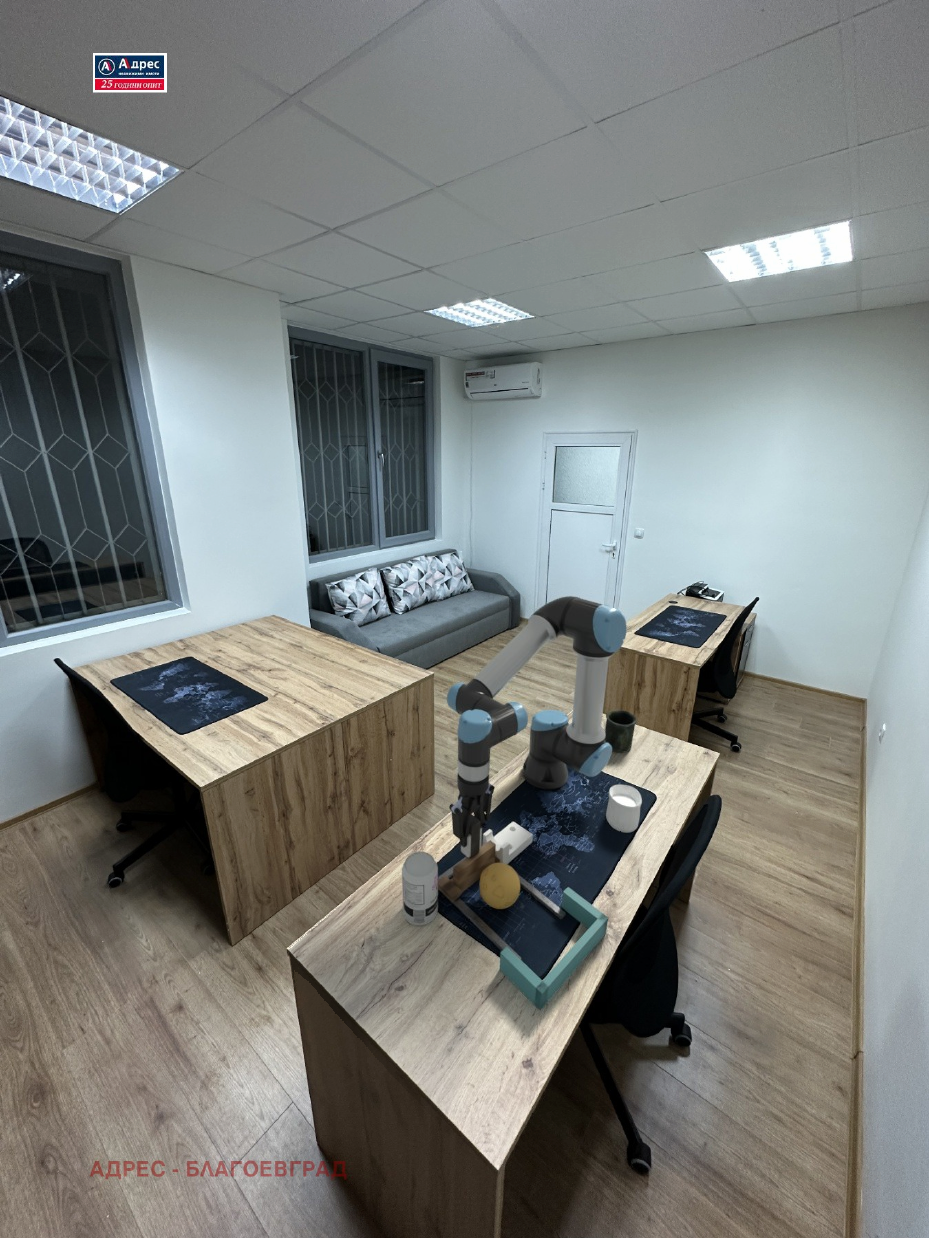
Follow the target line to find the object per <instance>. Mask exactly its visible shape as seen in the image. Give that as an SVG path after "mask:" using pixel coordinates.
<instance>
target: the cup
mask: <svg viewBox="0 0 929 1238" xmlns="http://www.w3.org/2000/svg"><path fill="white" fill-rule="evenodd" d="M642 803H643V800H642V794H641V793H640V792H639V791H638V789H637V788H635V787H634V786H632V785H628V784H627V785H626V784H614V785H612V786H611V787H610V788H609V791H608V803H607V807H606V813H605V816H606V817H605V818H606V821H607V823H609V825H610V826H611V827H612V828H613V829H614V830H616V831H618V832H620V831H621V833H626V834H628V833H632V832H634V831H635V830H637V829H638V826H639V823H640V815H641V807H642Z"/></svg>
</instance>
